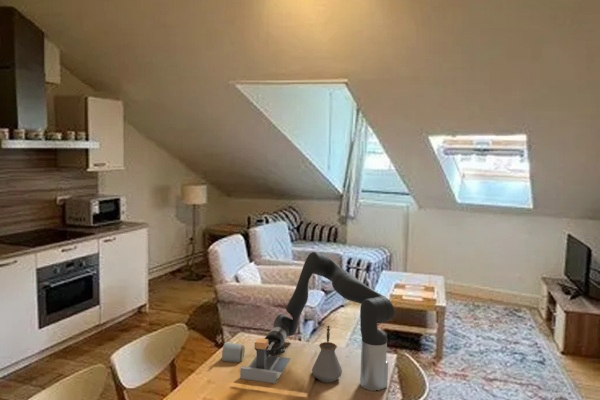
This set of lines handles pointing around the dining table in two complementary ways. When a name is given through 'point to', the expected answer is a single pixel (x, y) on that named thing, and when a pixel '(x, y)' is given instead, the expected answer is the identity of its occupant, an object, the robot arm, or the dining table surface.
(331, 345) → the coffee pot
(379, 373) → the robot arm
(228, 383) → the dining table surface
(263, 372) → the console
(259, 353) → the fader
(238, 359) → the ceramic mug
